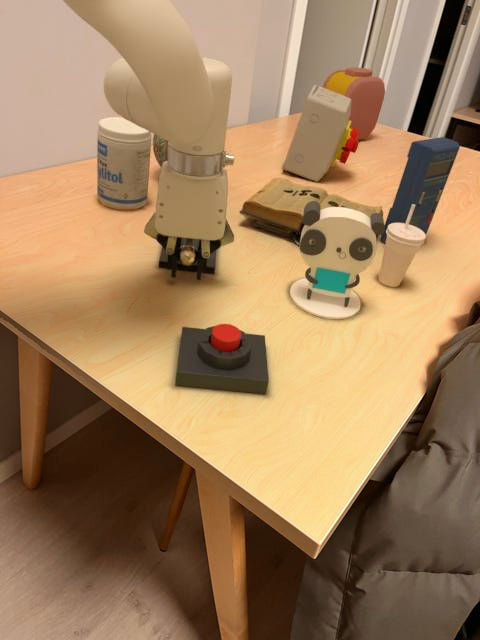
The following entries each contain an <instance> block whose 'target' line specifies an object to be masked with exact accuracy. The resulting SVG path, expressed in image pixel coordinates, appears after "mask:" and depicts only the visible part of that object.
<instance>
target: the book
mask: <svg viewBox="0 0 480 640" xmlns="http://www.w3.org/2000/svg"><path fill="white" fill-rule="evenodd" d="M311 201H317V202H318V203H319V204H320V206H321V210H322V209H325V208H329V207H344V208H349V209H353V210H356V211H359V212H362V213H364V214H365V215H367V216H368V217H369V218H370V217H371V215H372V214H373V213H380V214H382V216H383V217H384V209H383V206H381V205H380V206H373V205H367V204H362V203H358V202H355V201H352V200H349V199H348V198H345V197H343V196H340V195H338V194H335V193H331V194H330V193H329V194H328V191H327V190H326V189H325V188H322V187H320V186H319V187H318V186H317V187H316V186H311V185H302V184H298V183H295V182H292V181H291V180H289V179H285V178H281V177H273V178H272V179H271V180H270V181H269V182H268V183H266V184H265V185H264V186H263V187H262V188H260V190H258V191H256V193H254V194H253V195H252V196H251V197H249V198H248V199H247V200H245V201H244V202H243V203H242V209H241V210H239V211H238V213H239V214H240V216H241V215H242V216H243V217H245V218H250V219H254V220H255V221H253V224H252V226H253V227H257V228H261V229H263V230H266V231H270V232H273V233H275V234H279V235H282V236H286V237H292V240H293V241H294V242H295V244H296V245H298V246H300V239H301V233H302V230H303V227H304V225H305V224H304V223H303V213H304V208H305V206H306V204H307V203H309V202H311ZM375 235H376V236H378V235H377V234H375Z"/></svg>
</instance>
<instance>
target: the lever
mask: <svg viewBox="0 0 480 640" xmlns="http://www.w3.org/2000/svg"><path fill="white" fill-rule="evenodd" d="M177 257H178V260H179V262H180V263H181V264H183V265H186V266H189V265H193V264H194V263H195V262H196V261H197V259H198V251H197V249H196V248H195V247H194V246H193V239H191V238H186V243H185V245H183V246H181V247H180V248H179V250H178V253H177Z"/></svg>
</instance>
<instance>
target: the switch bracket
mask: <svg viewBox="0 0 480 640" xmlns="http://www.w3.org/2000/svg"><path fill="white" fill-rule="evenodd" d="M185 243H186V238H182V237H177V239H176V245H177V248H178V250H179V248H180V247H181V246H183V245H185ZM193 246H194V247H195V248H196V249H197V251H198V253H199V250H200V247H201V239H193ZM216 259H217V250H216V251H214V252H213V253H212V254H210V256H209V257H208V258H207V267H206V273H205V274H211V275H212V274H213V275H214V274H215V272H216V261H217V260H216ZM167 262H168V254H167V253H166V250H165V249H164V248H163V247H162V246H161V251H160V255H159V259H158V268H162V269H167ZM197 263H198V259H197V261H196V262H195V263H194V264H193V265H189V266H186V265H183V264H181V263H180V262H179V260H177V270H178V271H179V270H180V271H188V272H196V273H197Z"/></svg>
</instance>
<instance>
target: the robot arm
mask: <svg viewBox="0 0 480 640" xmlns="http://www.w3.org/2000/svg"><path fill="white" fill-rule="evenodd" d="M62 1H63V2H64V3H65V4H66V6H67V7H68V8H69V9H70V10H72V12H73V13H74V14H76V16H78V17H79V18H80V19H81V20H82V21H84V22H85V23H86V24H88V25H89V26H90V27H92V28H93V29H94V30H95V31H96V32H98V33H99V34H100V35H101V36H102V37H103V38H104V39H105V40H106V41H107V42H108V43H109V44H110V45H111V46H112V47H113V48H114V49H115V51H117V52H118V54H119V55H120V56H121V58H119V59H117V60H116V61H114V62H113V63H112V65H110V66H109V68H108V69H107V71H106V73H105V76H104V80H103V93H104V97H105V99H106V101H107V103H108V105H109V106H110V108H111V109H112V110H113V111H114V112H115V113H116V114H117V115H118V116H119V117H123V118H124V119H126V120H128V121H130V122H132V123H134V124H136V125H137V126H139V127H141V128H144V129H146V130H148V131H150V132H151V134H153V135H154V134H156V135H158V136H159V137H161V138H163V139H165V140H167V141H168V160H167V161H165V162H163V164H162V168H161V167H160V171H159V178H158V184H157V192H156V202H155V211H154V213H153V214H152V216H151V217H150V218H149V220H148V221H147V223H146V224H145V225H144V229H143V233H144V234H145V235H147V236H148V237H150V238H152V239H153V240H156V242H157V243H158V244H159V245H160V246H161V248H162V247H163V248H164V249H165V250H166V253H167V254H168V262H167V268H166V269H167V271H169V270H170V278H172V279H173V278H176V276H177V272H178V271H177V270H178V269H177V260H178V257H177V253H178V248H177V245H176V239H177V237H182V238H191V239H201V247H200V250H199V253H198V263H197V272H196V275H195V279H196V280H197V281H201V280H202V274H207V273H206V267H207V258H208V257H209V256H210V254H212V253H213V252H214V251H216V252H217V250H220V248H221V247H224V246H227V245H229V244H232V243H234V241H235V235H234V232H233V230H232V227H231V226H230V223H229V222H228V219H227V212H228V211H227V210H228V209H227V208H228V196H229V180H228V179H229V178H228V171H227V168H225V167H227V166H234V163H235V155H234V154H230V153H227V151H226V150H225V148H226V141H227V140H226V139H227V131H228V129H227V128H228V120H229V113H230V112H229V111H230V103H231V94H232V86H233V74H232V71H231V68H230V67H229V66H228V65H227V64H226V63H224V62H222V61H220V60H217V59H213V58H209V57H202V55H201V52H200V49H199V46H198V45H197V42H196V40H195V38H194V36H193V34H192V32H191V30H190V28H189V26H188V25H187V23H186V21H185V20H184V18H183V17H182V15H181V14H180V13H179V11H178V10H177V8H176V7H175V6H174V4H173V3H172V1H171V0H62Z"/></svg>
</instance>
